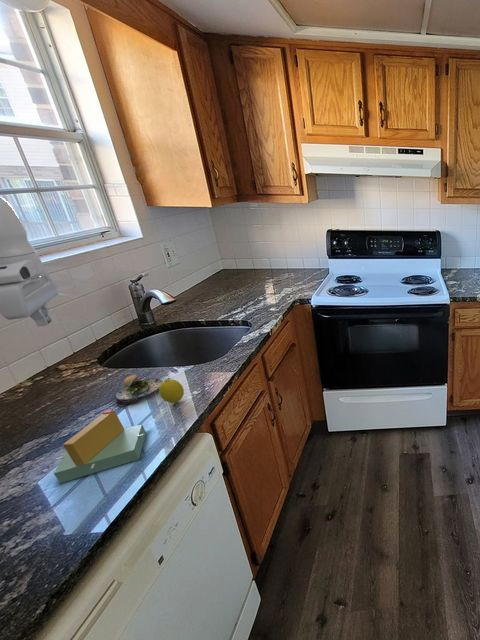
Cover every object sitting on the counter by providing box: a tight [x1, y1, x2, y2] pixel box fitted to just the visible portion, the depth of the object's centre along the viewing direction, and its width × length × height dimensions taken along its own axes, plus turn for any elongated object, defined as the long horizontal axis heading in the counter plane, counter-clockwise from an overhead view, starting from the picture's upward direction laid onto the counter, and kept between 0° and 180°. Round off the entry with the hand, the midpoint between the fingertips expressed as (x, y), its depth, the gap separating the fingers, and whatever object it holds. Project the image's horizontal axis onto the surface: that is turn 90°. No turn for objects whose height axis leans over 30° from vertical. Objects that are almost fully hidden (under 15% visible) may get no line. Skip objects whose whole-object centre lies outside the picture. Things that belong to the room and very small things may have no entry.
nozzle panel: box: [53, 423, 147, 484], centre depth 87 cm, size 16×16×3 cm
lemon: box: [158, 378, 185, 404], centre depth 106 cm, size 6×6×8 cm
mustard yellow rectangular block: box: [62, 409, 125, 465], centre depth 85 cm, size 12×2×6 cm, turn 4°
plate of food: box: [114, 374, 163, 405], centre depth 111 cm, size 12×12×8 cm
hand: (45, 324), depth 88 cm, fingers closed
